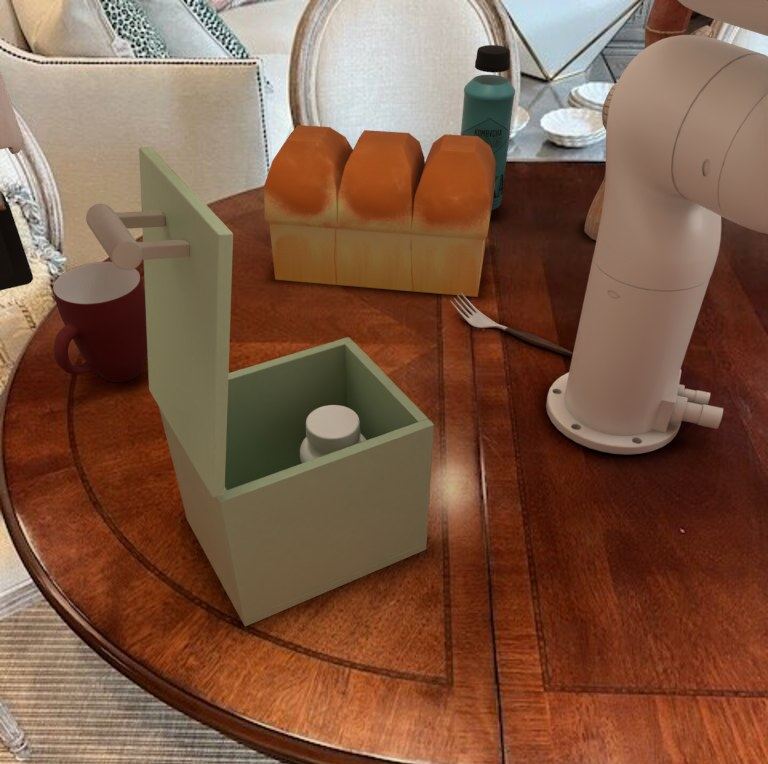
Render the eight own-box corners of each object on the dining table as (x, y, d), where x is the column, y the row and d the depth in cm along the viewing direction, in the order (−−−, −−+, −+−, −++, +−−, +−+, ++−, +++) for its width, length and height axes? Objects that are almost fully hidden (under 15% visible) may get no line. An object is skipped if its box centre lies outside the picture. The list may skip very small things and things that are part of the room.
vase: (577, 241, 101) (631, -40, 79) (580, 216, 106) (631, -54, 84) (662, 250, 99) (740, -35, 78) (660, 224, 104) (733, -49, 83)
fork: (574, 368, 81) (578, 351, 79) (447, 317, 88) (448, 301, 86) (586, 357, 82) (590, 340, 81) (460, 307, 89) (462, 291, 88)
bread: (488, 248, 99) (501, 125, 89) (481, 298, 90) (494, 168, 80) (296, 233, 102) (286, 111, 91) (270, 280, 93) (257, 152, 83)
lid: (152, 146, 45) (63, 146, 43) (233, 233, 38) (131, 238, 35) (159, 388, 56) (88, 398, 53) (224, 495, 48) (145, 513, 46)
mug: (114, 417, 74) (86, 326, 67) (47, 397, 77) (13, 306, 70) (177, 360, 81) (158, 271, 74) (114, 342, 84) (89, 254, 76)
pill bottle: (304, 493, 66) (295, 400, 59) (367, 489, 66) (366, 396, 60) (306, 540, 62) (297, 446, 55) (373, 535, 63) (373, 441, 56)
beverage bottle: (446, 206, 108) (456, 42, 94) (490, 200, 109) (507, 37, 95) (463, 226, 103) (477, 57, 89) (509, 220, 105) (530, 52, 91)
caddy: (352, 459, 70) (348, 336, 61) (426, 549, 63) (434, 424, 54) (186, 519, 65) (155, 394, 56) (244, 627, 57) (219, 502, 48)
